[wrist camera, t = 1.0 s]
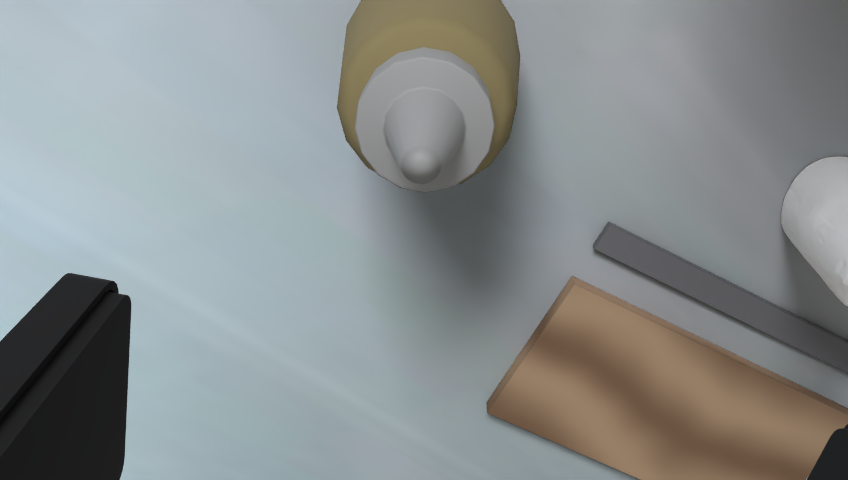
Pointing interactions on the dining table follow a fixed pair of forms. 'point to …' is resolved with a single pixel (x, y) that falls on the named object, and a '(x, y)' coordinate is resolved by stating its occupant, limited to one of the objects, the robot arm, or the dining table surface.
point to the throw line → (722, 295)
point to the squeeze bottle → (428, 88)
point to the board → (658, 397)
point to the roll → (821, 220)
